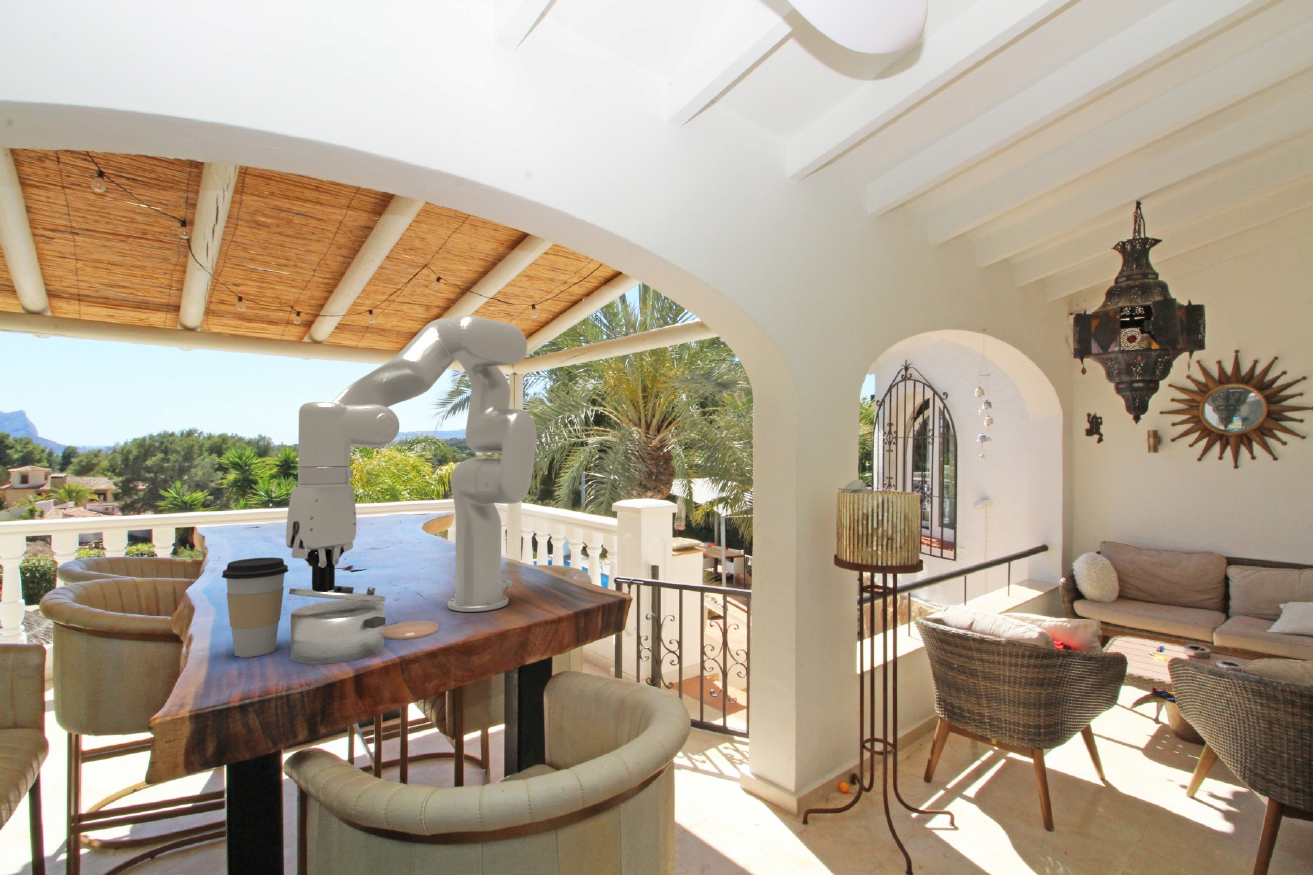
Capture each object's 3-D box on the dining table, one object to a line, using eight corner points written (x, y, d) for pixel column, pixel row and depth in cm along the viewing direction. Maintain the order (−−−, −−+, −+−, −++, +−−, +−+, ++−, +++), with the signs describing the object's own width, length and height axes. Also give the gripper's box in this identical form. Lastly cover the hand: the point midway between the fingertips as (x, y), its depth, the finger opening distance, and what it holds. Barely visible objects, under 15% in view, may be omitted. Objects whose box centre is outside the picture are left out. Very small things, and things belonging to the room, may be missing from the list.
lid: (341, 595, 116) (343, 584, 116) (403, 602, 110) (405, 590, 111) (268, 591, 103) (271, 578, 103) (334, 599, 97) (337, 586, 98)
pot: (334, 633, 117) (335, 595, 117) (411, 644, 110) (411, 604, 110) (261, 655, 104) (262, 613, 104) (343, 670, 97) (343, 625, 97)
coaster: (409, 621, 124) (409, 618, 124) (450, 627, 120) (450, 624, 120) (367, 635, 115) (367, 632, 115) (411, 641, 111) (411, 638, 111)
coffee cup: (275, 640, 112) (276, 554, 113) (297, 650, 106) (298, 560, 107) (212, 653, 105) (213, 562, 105) (232, 665, 99) (233, 568, 99)
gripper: (345, 476, 113) (344, 580, 112) (265, 479, 99) (263, 598, 99) (377, 476, 110) (376, 583, 110) (299, 480, 96) (298, 602, 96)
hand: (323, 590), depth 104 cm, fingers closed
